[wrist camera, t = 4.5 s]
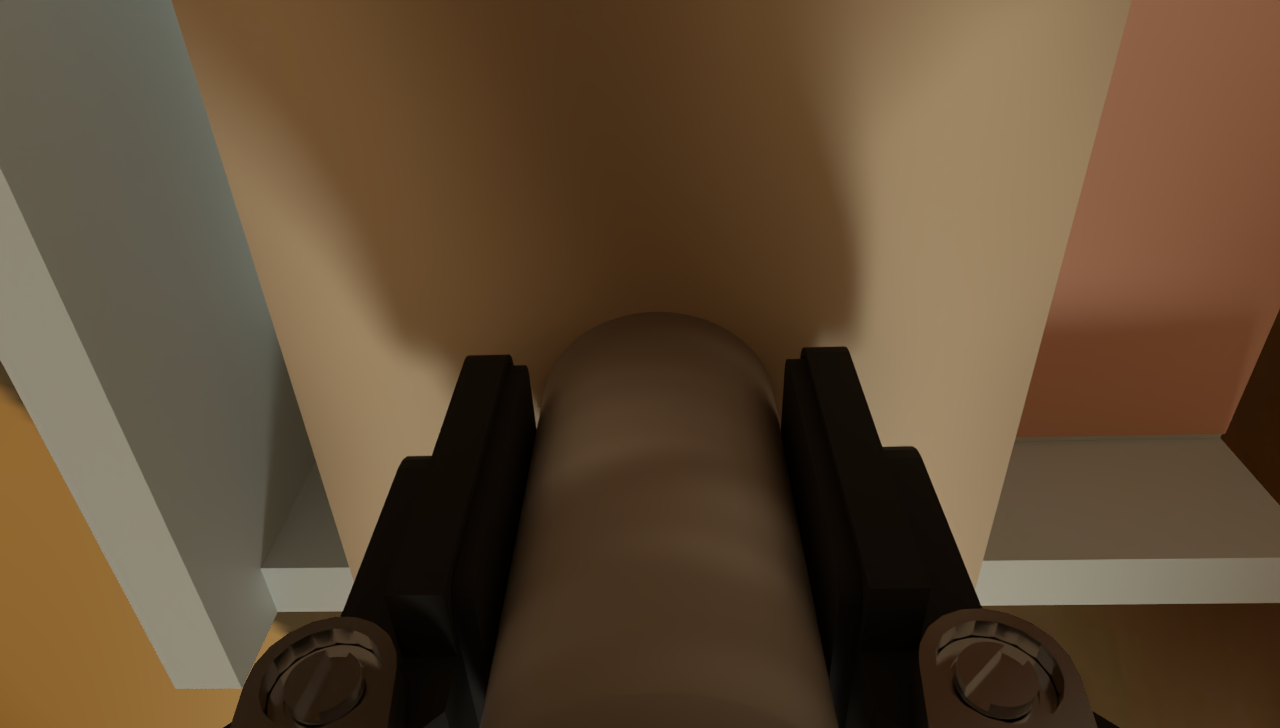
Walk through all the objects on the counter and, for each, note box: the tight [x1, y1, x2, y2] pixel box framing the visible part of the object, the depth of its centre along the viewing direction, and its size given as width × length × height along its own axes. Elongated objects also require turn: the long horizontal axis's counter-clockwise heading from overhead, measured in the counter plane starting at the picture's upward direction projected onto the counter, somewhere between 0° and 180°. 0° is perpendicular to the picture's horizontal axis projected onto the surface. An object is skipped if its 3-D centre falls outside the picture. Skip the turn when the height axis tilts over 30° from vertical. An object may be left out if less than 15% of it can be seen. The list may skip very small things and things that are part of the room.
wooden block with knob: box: [171, 0, 1132, 728], centre depth 12 cm, size 10×12×13 cm
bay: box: [0, 0, 1280, 689], centre depth 16 cm, size 24×16×7 cm, turn 92°
